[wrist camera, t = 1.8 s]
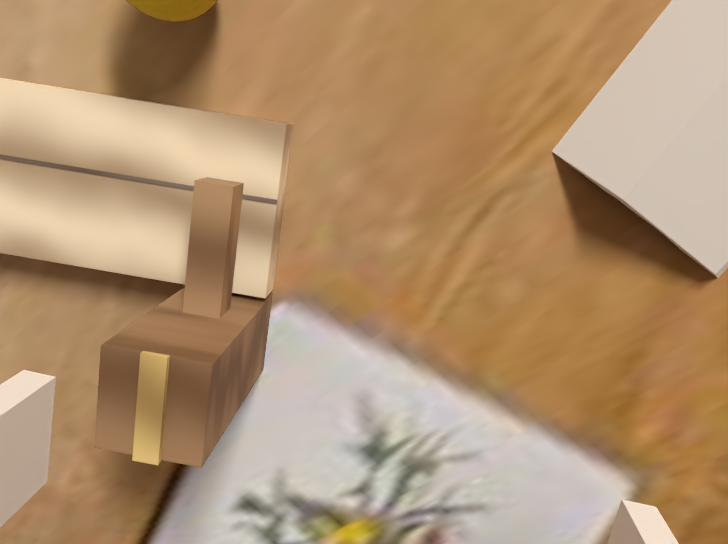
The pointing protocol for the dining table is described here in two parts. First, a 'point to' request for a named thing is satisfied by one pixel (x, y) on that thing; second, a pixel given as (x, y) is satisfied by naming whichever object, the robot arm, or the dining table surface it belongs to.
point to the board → (133, 181)
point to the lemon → (173, 8)
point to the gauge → (186, 349)
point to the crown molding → (666, 131)
